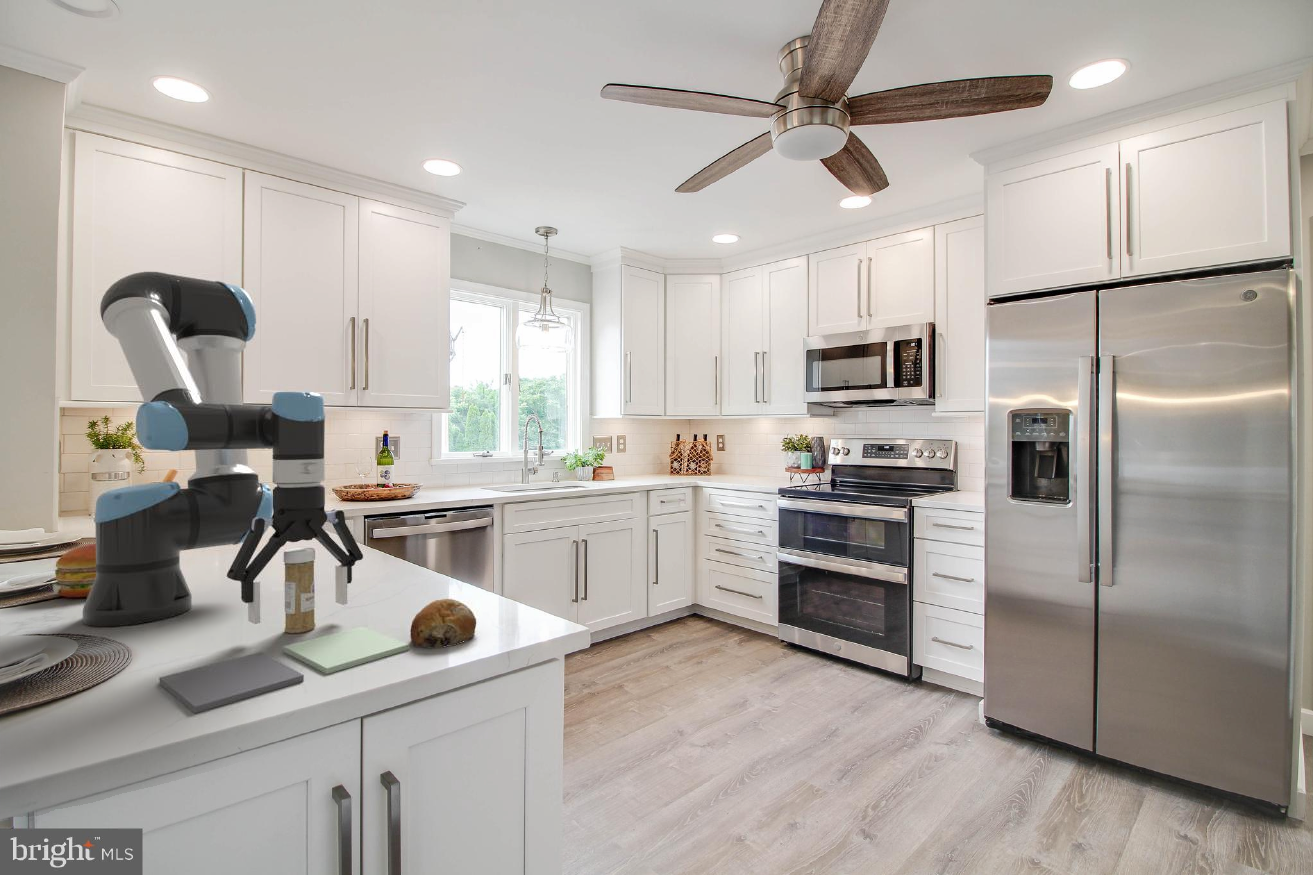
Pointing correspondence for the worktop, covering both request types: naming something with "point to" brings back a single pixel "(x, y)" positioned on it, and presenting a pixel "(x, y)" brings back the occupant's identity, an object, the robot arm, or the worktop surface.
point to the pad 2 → (345, 649)
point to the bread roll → (443, 624)
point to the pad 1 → (229, 681)
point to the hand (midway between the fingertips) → (300, 612)
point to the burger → (76, 572)
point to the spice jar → (299, 590)
